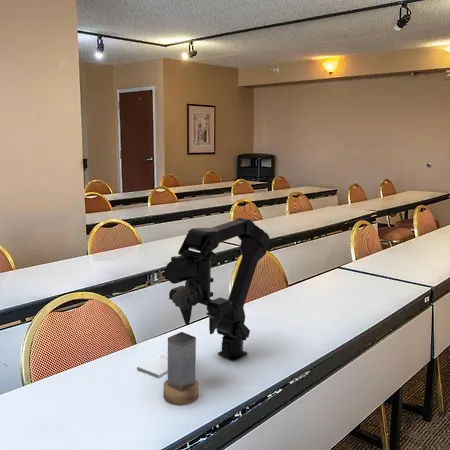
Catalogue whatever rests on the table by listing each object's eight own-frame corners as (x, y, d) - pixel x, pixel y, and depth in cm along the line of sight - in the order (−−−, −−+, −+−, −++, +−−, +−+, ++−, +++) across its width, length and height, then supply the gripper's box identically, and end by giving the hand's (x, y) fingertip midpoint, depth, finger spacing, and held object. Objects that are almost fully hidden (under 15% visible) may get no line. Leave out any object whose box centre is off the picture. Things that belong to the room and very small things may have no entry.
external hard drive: (136, 371, 144) (165, 355, 154) (158, 380, 140) (186, 363, 150) (136, 366, 144) (165, 350, 154) (158, 375, 139) (186, 358, 149)
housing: (181, 377, 134) (181, 331, 131) (195, 384, 131) (195, 337, 128) (167, 385, 130) (167, 337, 127) (181, 391, 127) (181, 343, 124)
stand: (181, 382, 137) (181, 372, 137) (205, 394, 132) (205, 384, 131) (156, 395, 131) (156, 385, 130) (180, 409, 125) (181, 398, 124)
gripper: (154, 274, 137) (154, 328, 140) (205, 290, 125) (204, 348, 129) (183, 265, 146) (183, 317, 149) (233, 280, 134) (232, 335, 137)
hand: (199, 329), depth 141 cm, fingers open, 9 cm apart
